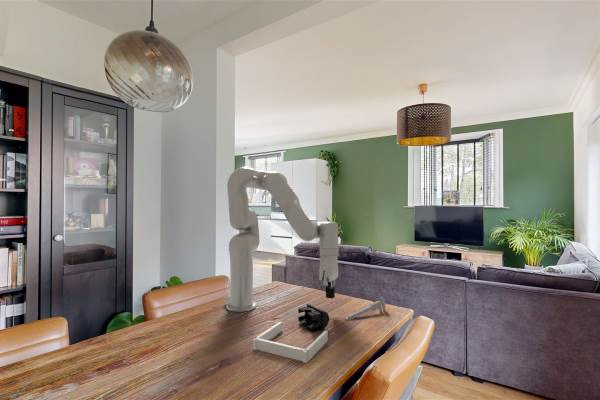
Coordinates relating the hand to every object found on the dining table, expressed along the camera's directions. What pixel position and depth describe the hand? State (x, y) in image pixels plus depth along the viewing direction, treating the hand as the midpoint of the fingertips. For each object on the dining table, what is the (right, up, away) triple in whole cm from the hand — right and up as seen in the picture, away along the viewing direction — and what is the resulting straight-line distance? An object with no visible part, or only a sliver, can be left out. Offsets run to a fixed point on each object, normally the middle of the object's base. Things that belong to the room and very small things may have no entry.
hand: (330, 297), depth 124 cm
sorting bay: (-15, -6, -28) cm, 32 cm away
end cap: (-7, -7, -13) cm, 17 cm away
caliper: (+14, -7, -2) cm, 16 cm away
